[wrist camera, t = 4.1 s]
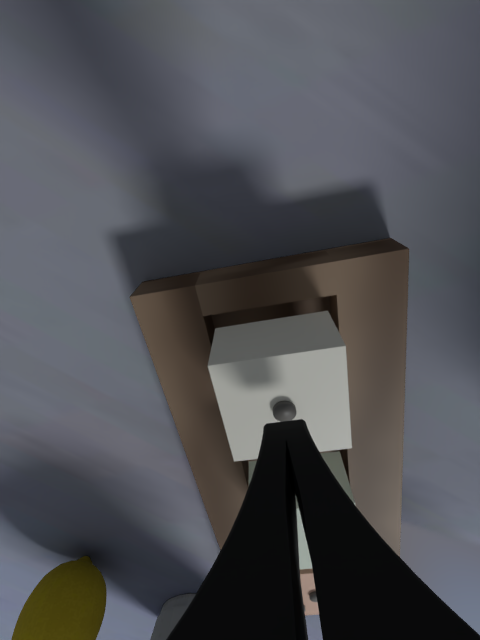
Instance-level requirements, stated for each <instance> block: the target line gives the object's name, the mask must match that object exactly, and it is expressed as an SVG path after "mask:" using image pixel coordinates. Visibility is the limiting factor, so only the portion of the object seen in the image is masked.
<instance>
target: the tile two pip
mask: <svg viewBox="0 0 480 640" xmlns="http://www.w3.org/2000/svg"><path fill="white" fill-rule="evenodd" d="M321 456H322V457H323V459H324V461H325V462H326V464H327V465H328V467H329V469H330V470H331V472H332V473H333V475H334V476H335V478H336V479H337V481H338V482H339V484H340V485H341V487H342V488H343V489H344V491H345V492H346V494H347V495H348V496H349V498H350V499H351V500H352V502H353V503H354V504H355V500H354V497H353V494H352V491H351V487H350V484H349V481H348V477H347V474H346V471H345V468H344V464H343V461H342V458H341V454H340V451H338V452H329V453H321ZM256 462H257V461H250V462H249V484H250V481H251V478H252V475H253V472H254V469H255V465H256ZM296 510H297V529H298V548H299V567H300V569H312V563H311V558H310V554H309V550H308V545H307V541H306V537H305V532H304V528H303V524H302V519H301V515H300V511H299V506H298V502H297V498H296Z"/></svg>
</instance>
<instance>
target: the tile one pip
mask: <svg viewBox="0 0 480 640" xmlns="http://www.w3.org/2000/svg"><path fill="white" fill-rule="evenodd" d="M208 369H209V373H210V376H211V380H212V383H213V387H214V391H215V394H216V398H217V402H218V405H219V409H220V412H221V416H222V420H223V423H224V427H225V430H226V434H227V438H228V441H229V445H230V449H231V452H232V456H233V459H234V462H235V461H244V460H253V459H258V455H259V451H260V447H261V442H262V436H263V428H264V426H265V425H266V424H267V423H275V422H283V421H291V420H299V419H302V420H304V421H305V422H306V425H307V428H308V430H309V432H310V435H311V437H312V439H313V441H314V443H315V445H316V447H317V448H318V450H319V452H323V451H332V450H341V449H350V448H352V441H351V424H350V408H349V391H348V374H347V358H346V345H345V343H344V341H343V339H342V337H341V335H340V333H339V331H338V329H337V328H336V326H335V324H334V322H333V320H332V318H331V316H330V314H329V312H328V311H322V312H316V313H309V314H303V315H297V316H290V317H284V318H277V319H271V320H265V321H258V322H252V323H246V324H239V325H233V326H227V327H220V328H215V332H214V337H213V342H212V347H211V352H210V357H209V362H208Z"/></svg>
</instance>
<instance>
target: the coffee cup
mask: <svg viewBox="0 0 480 640" xmlns="http://www.w3.org/2000/svg"><path fill="white" fill-rule="evenodd" d="M195 595H196V594H184V595H178V596H176V597H173V598H171V599H169V600H168V601H167V602H165V603H164V604H163V607H162V610H161V613H160V615H159V616H158V617H157V620H156V623H155V626H154V630H153V633H152V636H151V640H166V639H167V637H168V636H169V635H170V633H171V632H172V630H173V629H174V627H175V626H176V624H177V623H178V621H179V620H180V618H181V617H182V615H183V614H184V613H185V611H186V609H187V608H188V606H189V605H190V603H191V602H192V600H193V598H194V597H195Z"/></svg>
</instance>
